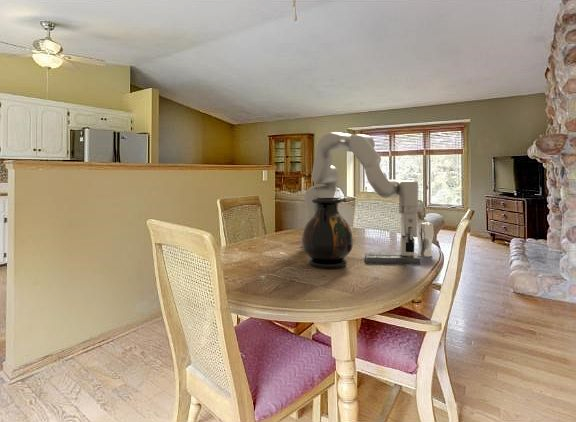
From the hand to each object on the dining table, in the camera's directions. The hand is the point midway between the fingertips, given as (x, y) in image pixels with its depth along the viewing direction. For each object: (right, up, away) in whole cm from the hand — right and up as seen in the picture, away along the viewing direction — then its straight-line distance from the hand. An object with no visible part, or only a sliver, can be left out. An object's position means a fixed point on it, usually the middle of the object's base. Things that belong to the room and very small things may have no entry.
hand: (407, 249), depth 151 cm
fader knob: (0, -2, 0) cm, 2 cm away
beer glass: (+11, -4, +10) cm, 16 cm away
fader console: (-6, -5, +2) cm, 8 cm away
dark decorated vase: (-35, -6, -2) cm, 35 cm away
